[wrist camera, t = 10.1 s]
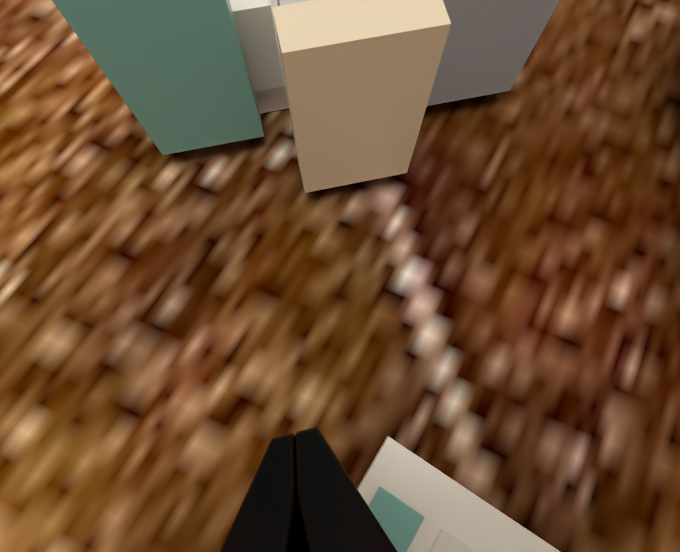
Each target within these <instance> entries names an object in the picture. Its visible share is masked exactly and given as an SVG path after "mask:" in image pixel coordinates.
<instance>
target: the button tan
mask: <svg viewBox="0 0 680 552" xmlns="http://www.w3.org/2000/svg"><path fill="white" fill-rule="evenodd" d="M277 4H278V6H275V7H272V11H273V17H274V23H275V29H276V35H277V41H278V47H279V53H280V58H281V64H282V70H283V76H284V82H285V88H286V94H287V100H288V105H289V111H290V117H291V123H292V129H293V135H294V141H295V147H296V152H297V158H298V164H299V168H300V173H301V178H302V182H303V187H304V192H305V193H307V192H312V191H317V190H322V189H327V188H333V187H338V186H343V185H348V184H353V183H358V182H363V181H368V180H374V179H379V178H384V177H389V176H394V175H399V174H404V173H407V171H408V167H409V164H410V161H411V157H412V154H413V151H414V147H415V144H416V141H417V137H418V134H419V131H420V127H421V124H422V120H423V117H424V114H425V110H426V107H427V104H428V100H429V97H430V94H431V90H432V87H433V83H434V80H435V77H436V73H437V70H438V67H439V63H440V60H441V57H442V53H443V50H444V47H445V43H446V40H447V36H448V33H449V30H450V26H451V21H450V19H449V16H448V13H447V10H446V8H445V5H444V2H443V0H277Z"/></svg>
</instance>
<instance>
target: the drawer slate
mask: <svg viewBox="0 0 680 552" xmlns="http://www.w3.org/2000/svg"><path fill="white" fill-rule="evenodd" d="M443 2H444V5H445V8H446V10H447V13H448V16H449V19H450V21H451V26H450V30H449V33H448V36H447V40H446V43H445V47H444V50H443V53H442V57H441V60H440V63H439V67H438V70H437V73H436V77H435V80H434V83H433V87H432V90H431V94H430V97H429V100H428V104H427V106H430V105H436V104H441V103H446V102H452V101H457V100H462V99H468V98H473V97H479V96H484V95H489V94H495V93H500V92H506V91H510V90H511V88H512V86H513V84H514V82H515V80H516V79H517V77H518V75H519V73H520V71H521V70H522V68H523V66H524V64H525V62H526V60H527V59H528V57H529V55H530V53H531V51H532V50H533V48H534V46H535V44H536V42H537V40H538V39H539V37H540V35H541V33H542V31H543V30H544V28H545V26H546V24H547V22H548V20H549V19H550V17H551V15H552V13H553V11H554V10H555V8H556V6H557V4H558V2H559V0H443Z"/></svg>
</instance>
